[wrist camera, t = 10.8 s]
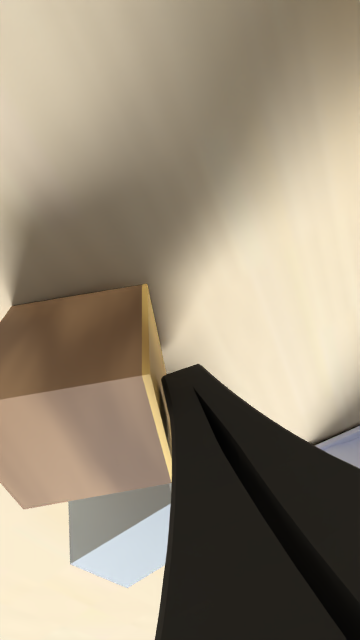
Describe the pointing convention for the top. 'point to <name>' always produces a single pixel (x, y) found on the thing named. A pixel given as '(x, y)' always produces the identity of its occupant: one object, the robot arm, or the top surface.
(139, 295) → the walnut cube
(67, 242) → the top surface
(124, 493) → the slate-grey cube
